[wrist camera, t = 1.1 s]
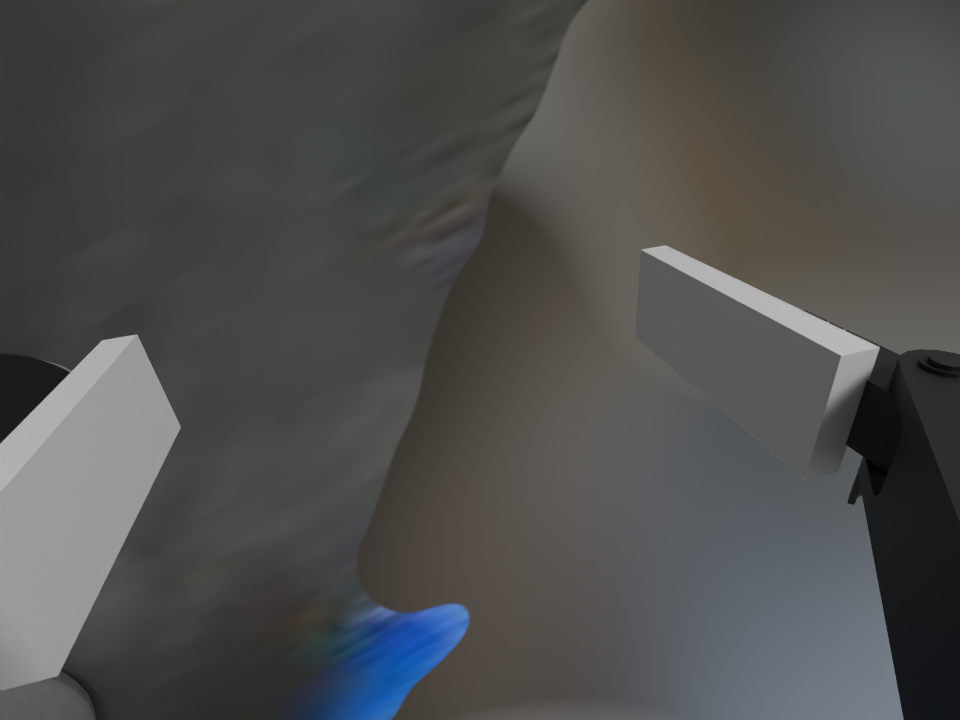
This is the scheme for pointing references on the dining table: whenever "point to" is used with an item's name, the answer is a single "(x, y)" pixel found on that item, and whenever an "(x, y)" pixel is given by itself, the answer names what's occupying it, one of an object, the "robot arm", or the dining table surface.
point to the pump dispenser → (24, 387)
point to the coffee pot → (47, 701)
